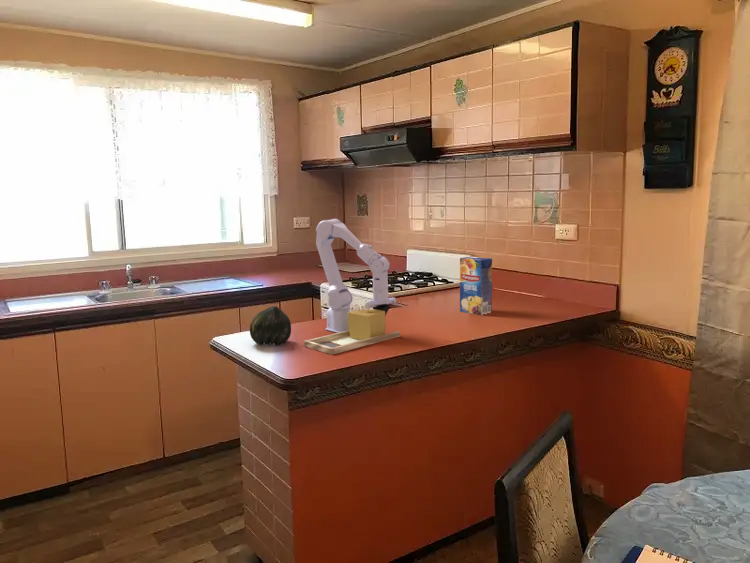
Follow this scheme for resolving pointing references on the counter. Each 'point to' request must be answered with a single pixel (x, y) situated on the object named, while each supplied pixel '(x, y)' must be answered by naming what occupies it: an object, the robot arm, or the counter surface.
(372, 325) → the cheese
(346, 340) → the pad
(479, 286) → the juice carton
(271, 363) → the counter surface
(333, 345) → the pad
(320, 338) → the lane rails
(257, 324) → the squash
